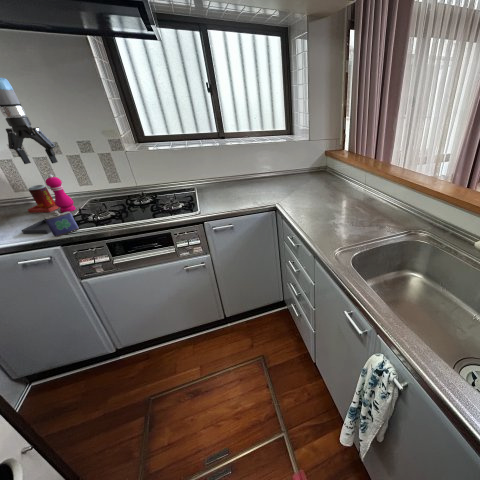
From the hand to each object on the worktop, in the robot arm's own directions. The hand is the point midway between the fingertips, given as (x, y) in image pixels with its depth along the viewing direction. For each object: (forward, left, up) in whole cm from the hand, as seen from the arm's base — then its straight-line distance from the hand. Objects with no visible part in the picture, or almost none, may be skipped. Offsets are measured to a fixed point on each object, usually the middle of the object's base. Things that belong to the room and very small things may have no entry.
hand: (41, 163), depth 133 cm
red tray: (-12, +3, -26) cm, 29 cm away
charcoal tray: (+8, -22, -26) cm, 34 cm away
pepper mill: (+2, -1, -26) cm, 26 cm away
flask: (+22, -27, -26) cm, 43 cm away
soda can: (-12, +3, -25) cm, 28 cm away
